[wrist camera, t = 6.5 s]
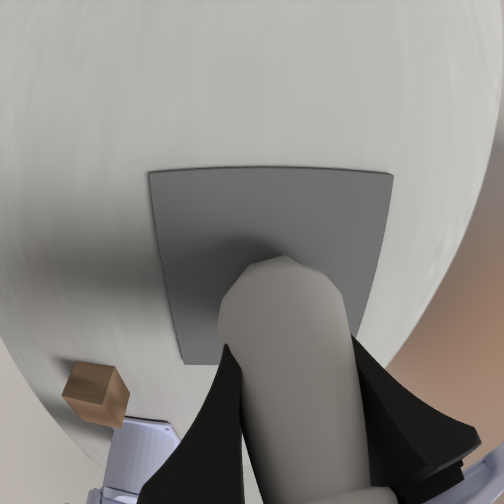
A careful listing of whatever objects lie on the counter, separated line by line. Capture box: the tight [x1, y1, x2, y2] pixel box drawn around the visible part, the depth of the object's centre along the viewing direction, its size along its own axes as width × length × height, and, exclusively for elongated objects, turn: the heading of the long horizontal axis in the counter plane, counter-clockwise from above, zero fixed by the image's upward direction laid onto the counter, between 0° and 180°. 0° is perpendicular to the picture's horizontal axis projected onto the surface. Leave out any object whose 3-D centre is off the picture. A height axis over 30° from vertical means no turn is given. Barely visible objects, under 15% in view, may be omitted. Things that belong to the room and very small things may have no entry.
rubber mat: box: [149, 167, 394, 365], centre depth 15 cm, size 13×12×1 cm
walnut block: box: [61, 361, 130, 429], centre depth 18 cm, size 4×4×4 cm
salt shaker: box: [217, 255, 398, 504], centre depth 9 cm, size 6×6×13 cm
